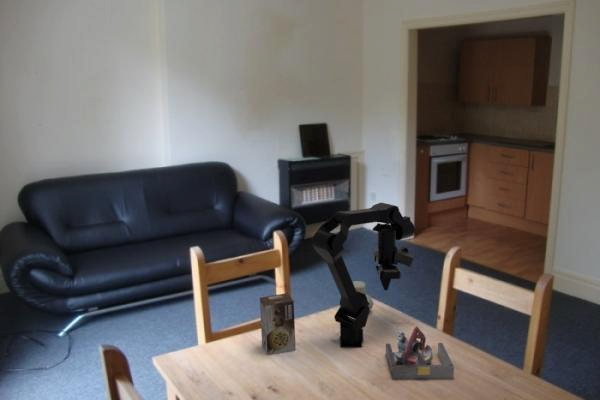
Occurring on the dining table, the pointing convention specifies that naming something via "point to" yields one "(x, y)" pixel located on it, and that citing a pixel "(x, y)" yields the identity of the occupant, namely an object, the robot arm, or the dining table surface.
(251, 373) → the dining table surface
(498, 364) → the dining table surface
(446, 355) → the receiver
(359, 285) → the air freshener
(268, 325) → the coffee box
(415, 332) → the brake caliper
